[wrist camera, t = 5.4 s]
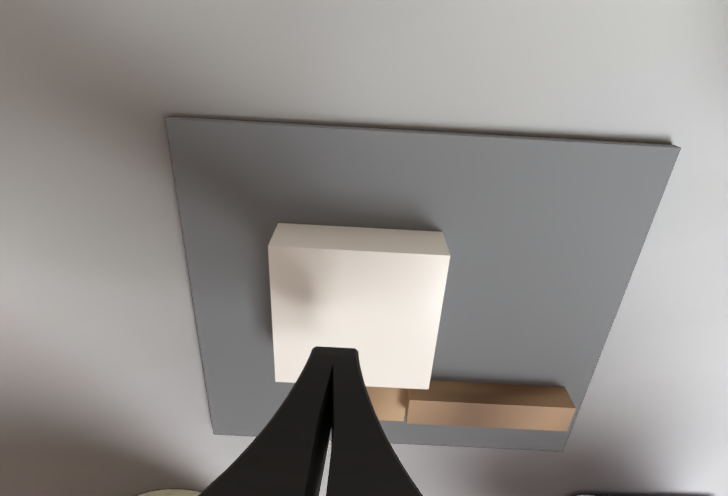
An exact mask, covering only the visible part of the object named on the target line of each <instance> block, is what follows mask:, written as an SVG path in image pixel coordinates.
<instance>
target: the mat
mask: <svg viewBox="0 0 728 496" xmlns="http://www.w3.org/2000/svg"><path fill="white" fill-rule="evenodd" d="M165 122H166V129H167V135H168V142H169V148H170V155H171V161H172V168H173V174H174V181H175V187H176V194H177V200H178V207H179V213H180V220H181V226H182V233H183V239H184V246H185V252H186V259H187V265H188V272H189V278H190V285H191V291H192V298H193V304H194V311H195V317H196V324H197V330H198V337H199V343H200V350H201V356H202V363H203V369H204V376H205V382H206V389H207V395H208V402H209V408H210V415H211V421H212V428H213V434H215V435H235V436H256V437H257V436H258V435H259V434H260V432H261V431H262V430H263V429H264V427H265V426H266V425H267V424H268V422H269V421H270V420H271V418H272V417H273V416H274V414H275V413H276V411H277V410H278V409H279V407H280V406H281V404H282V403H283V401H284V400H285V399H286V397H287V396H288V394H289V392H290V391H291V389H292V387H293V386H294V384H295V383H289V382H275V366H274V347H273V329H272V311H271V293H270V275H269V257H268V245H269V242H270V240H271V238H272V236H273V233H274V231H275V229H276V227H277V224H278V223H289V224H308V225H326V226H345V227H363V228H382V229H400V230H419V231H438V232H443V234H444V237H445V240H446V243H447V247H448V250H449V253H450V261H449V267H448V274H447V280H446V286H445V292H444V298H443V304H442V310H441V317H440V323H439V329H438V335H437V341H436V347H435V353H434V360H433V366H432V372H431V378H430V380H435V381H455V382H474V383H494V384H514V385H534V386H554V387H565V388H566V390H567V392H568V394H569V396H570V398H571V400H572V402H573V403H574V405H575V407H576V410H575V412H574V415H573V417H572V420H571V423H570V425H569V428H568V430H567V431H550V430H530V429H510V428H490V427H469V426H449V425H429V424H409V423H406V412H405V414H404V421H386V420H379V422H380V424H381V426H382V429H383V431H384V433H385V435H386V437H387V439H388V441H389V443H399V444H419V445H440V446H460V447H481V448H501V449H522V450H542V451H562V452H563V450H564V447H565V445H566V442H567V440H568V437H569V434H570V432H571V429H572V427H573V424H574V422H575V419H576V416H577V414H578V411H579V409H580V406H581V404H582V401H583V398H584V396H585V393H586V391H587V388H588V386H589V383H590V380H591V378H592V375H593V373H594V370H595V368H596V365H597V362H598V360H599V357H600V355H601V352H602V350H603V347H604V344H605V342H606V339H607V337H608V334H609V332H610V329H611V326H612V324H613V321H614V319H615V316H616V314H617V311H618V308H619V306H620V303H621V301H622V298H623V296H624V293H625V290H626V288H627V285H628V283H629V280H630V278H631V275H632V272H633V270H634V267H635V265H636V262H637V260H638V257H639V254H640V252H641V249H642V247H643V244H644V242H645V239H646V236H647V234H648V231H649V229H650V226H651V224H652V221H653V219H654V216H655V213H656V211H657V208H658V206H659V203H660V201H661V198H662V195H663V193H664V190H665V188H666V185H667V183H668V180H669V177H670V175H671V172H672V170H673V167H674V165H675V162H676V159H677V157H678V154H679V152H680V149H681V148H680V147H677V146H675V145H668V144H650V143H632V142H615V141H597V140H579V139H561V138H543V137H526V136H508V135H490V134H472V133H454V132H437V131H419V130H401V129H383V128H365V127H348V126H330V125H312V124H294V123H276V122H259V121H241V120H223V119H205V118H187V117H168V118H166V119H165ZM329 440H331V432H330V438H329Z"/></svg>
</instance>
